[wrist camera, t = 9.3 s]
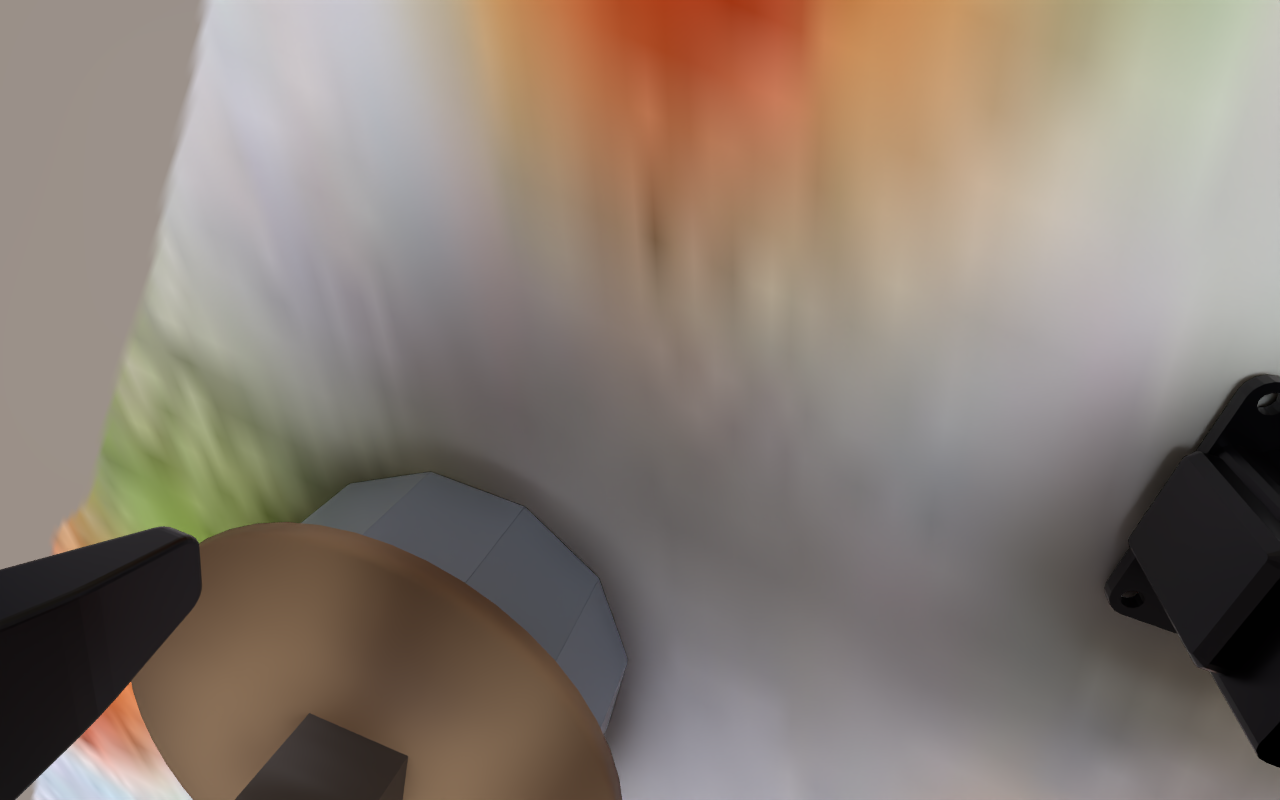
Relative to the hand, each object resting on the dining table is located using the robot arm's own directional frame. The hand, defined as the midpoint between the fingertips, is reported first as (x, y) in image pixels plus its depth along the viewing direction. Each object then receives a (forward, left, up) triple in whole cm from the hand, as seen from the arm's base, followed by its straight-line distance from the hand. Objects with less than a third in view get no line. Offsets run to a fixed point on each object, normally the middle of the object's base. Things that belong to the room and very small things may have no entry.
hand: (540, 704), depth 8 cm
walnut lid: (+6, +13, -7) cm, 16 cm away
